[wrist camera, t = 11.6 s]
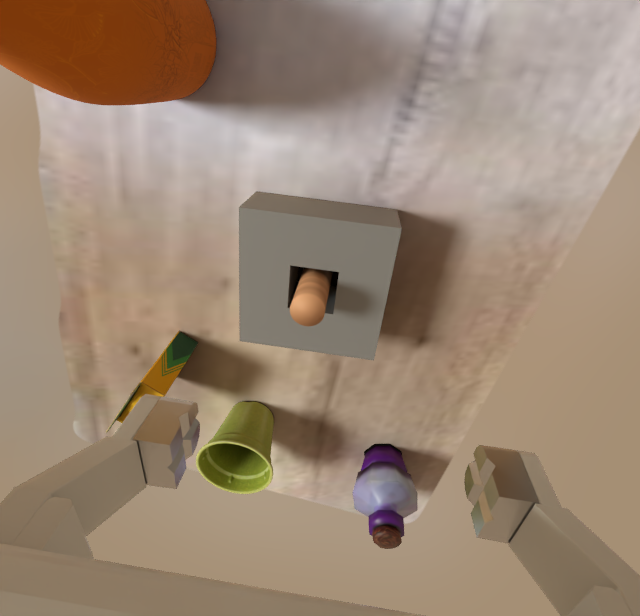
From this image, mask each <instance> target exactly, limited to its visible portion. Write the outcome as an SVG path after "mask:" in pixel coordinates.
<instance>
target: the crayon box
mask: <svg viewBox="0 0 640 616" xmlns="http://www.w3.org/2000/svg"><path fill="white" fill-rule="evenodd" d="M197 344H198V342H196V341H195V340H193V339H191V338H190V337H188V336H186V335H185V334H183V333H182V332H180V331H178V333H177V334H176V335H175V337H174V338H173V339H172V341H171V342H170V343H169V345H168V346H167V347H166V349H165V350H164V351H163V353H162V354H161V355H160V357H159V358H158V359H157V361H156V362H155V363H154V365H153V366H152V367H151V369H150V370H149V371H148V373H147V374H146V375H145V377H144V378H143V379H142V380H141V382H140V383H139V384H138V385H137V387H136V388H135V389H134V390H133V392H132V393H131V394H130V396H129V397H128V399H127V400H126V402H125V404H124V405H123V407H122V408H121V410H120V411H119V413H118V414H117V416H116V417H115V419H114V420H113V422H112V424H111V425H110V427H109V428H108V430H109V429H110V428H111V426H112V425H113V424H114V422H115V421H116V420H117V421H119V422H121V423H123V421H124V420H125V419H126V417H127V416H128V414H129V413H130V412H131V410H132V409H133V407H134V406H135V405H136V403H137V402H138V401H139V399H140V398H141V397H142V396H144V395H145V394H149V395H155V396H161V397H164V396H165V394H166V393H167V391H168V390H169V388H170V387H171V385H172V383H173V382H174V380H175V379H176V377H177V376H178V374H179V373H180V371H181V370H182V368H183V367H184V365H185V363H186V362H187V360H188V359H189V357H190V356H191V354H192V352H193V351H194V349H195V347H196V346H197ZM108 430H107V431H106V433H107V432H108Z"/></svg>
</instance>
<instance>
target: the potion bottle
mask: <svg viewBox="0 0 640 616" xmlns="http://www.w3.org/2000/svg"><path fill="white" fill-rule="evenodd" d="M364 455H365V458H364V461H363V465H362V469H361V471H360V472H358V476H357V479H356V483H355V486H354V490H353V499H354V507H355V509H356V510H358V511H359V512H361V513H363V514H364V515H366V516H368V517H369V533H370V535H372V536H373V541H374V543H376V544H377V545H378V546H379V547H380V548H385V549H390V548H395V547H397V546H399V545H400V544H401V537H402V536H404V523H403V518H405V517H407V516H408V515H410V514H412V513H413V512H415V511H417V491H416V489H415V486H414V483H413V481H412V478H411V475H410V474H409V473H407V469H406V466H405V464H404V461H403V458H402V452H401V451H400V450H398V449H397V448H395V447H394V446H392V445H391V444H374V445H372V446H371V447H370V448H368V449H367V450H366V451H364Z"/></svg>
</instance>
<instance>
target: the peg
mask: <svg viewBox="0 0 640 616" xmlns="http://www.w3.org/2000/svg"><path fill="white" fill-rule="evenodd" d="M332 273H333V271H327V270H320V269H313V268H305V267H304V269H303V272H302V275H301V278H300V281H299V283H298V286H297V289H296V292H295V294H294V297H293V300H292V303H291V306H290V314H291V317H292V318H293V320H294V321H295V322H297V323H298V324H300V325H303V326H314V325H317V324H319V323H320V322H321V321H322V320H323V318H324V315H325V309H326V304H327V299H328V294H329V288H330V283H331V278H332Z"/></svg>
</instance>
